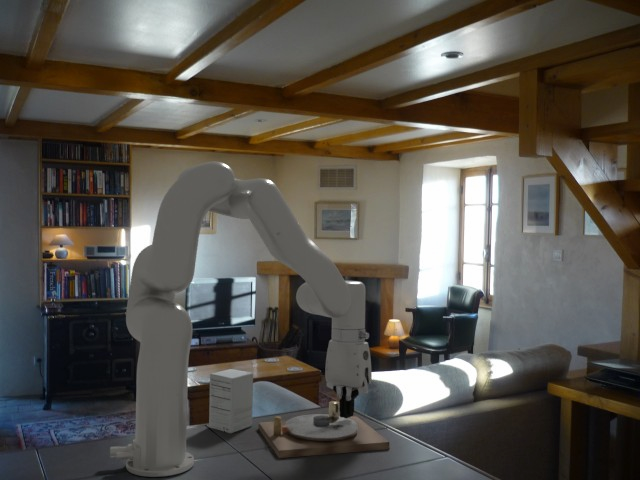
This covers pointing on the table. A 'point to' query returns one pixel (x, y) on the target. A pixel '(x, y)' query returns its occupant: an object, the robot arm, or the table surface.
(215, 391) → the supplement box
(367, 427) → the base board
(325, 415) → the flange plate
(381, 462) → the table surface
